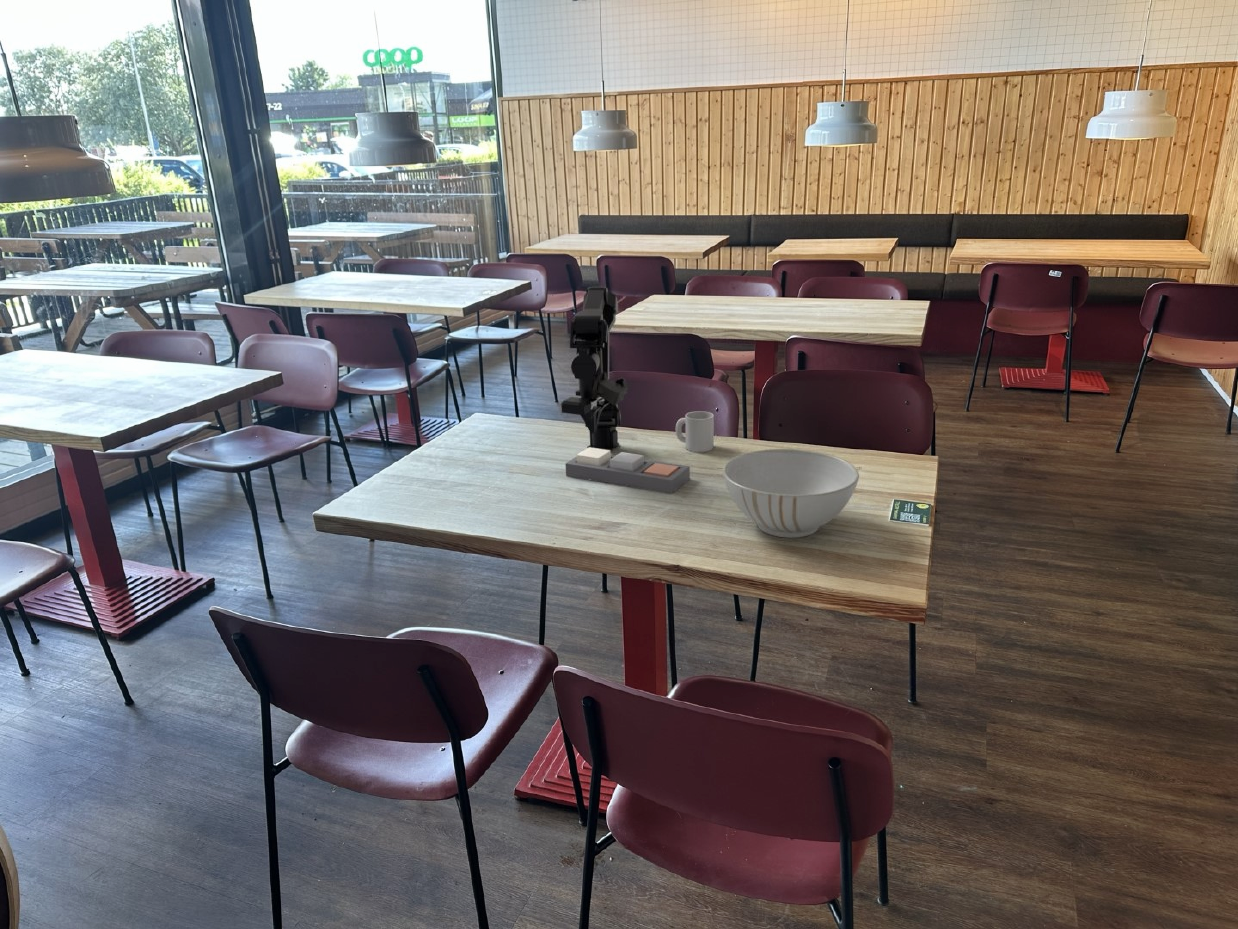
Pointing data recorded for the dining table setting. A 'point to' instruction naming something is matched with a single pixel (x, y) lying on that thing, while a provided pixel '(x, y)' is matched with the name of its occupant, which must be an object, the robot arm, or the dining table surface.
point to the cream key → (594, 456)
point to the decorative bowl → (790, 489)
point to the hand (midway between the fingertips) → (593, 432)
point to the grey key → (627, 461)
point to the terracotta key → (661, 470)
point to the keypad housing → (630, 475)
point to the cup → (697, 431)
